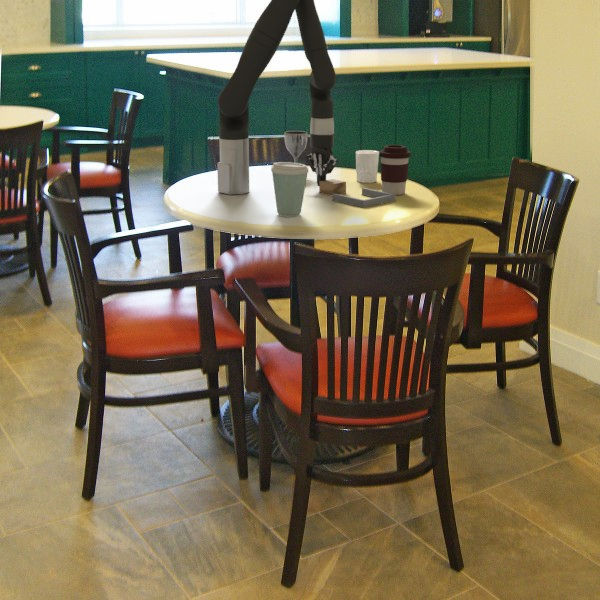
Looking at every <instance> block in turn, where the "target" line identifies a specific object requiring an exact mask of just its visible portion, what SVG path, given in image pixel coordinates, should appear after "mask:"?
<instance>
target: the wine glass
mask: <svg viewBox="0 0 600 600" xmlns="http://www.w3.org/2000/svg"><path fill="white" fill-rule="evenodd" d="M307 142H308V132H307V131H305V130H288V131H287V130H286V131H284V144H285V147H286V149H287V151H288V152H289V153H290V155H291V156H292V158H293V163H298V160H299V159H300V156H301V155H302V153H303V152H304V151H305V150H306V147H307V144H308V143H307Z"/></svg>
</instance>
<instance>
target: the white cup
mask: <svg viewBox="0 0 600 600" xmlns="http://www.w3.org/2000/svg"><path fill="white" fill-rule="evenodd" d="M379 158H380V156H379V151H378V150H374V149H373V150H372V149H361V150H360V149H359V150H356V151H355V173H356V181H357V182H358V183H362V184H364V183H365V184H370V183H372V184H373V183H376V182H377V179H378V173H379V172H378V170H379V160H380V159H379Z"/></svg>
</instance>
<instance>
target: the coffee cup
mask: <svg viewBox="0 0 600 600" xmlns="http://www.w3.org/2000/svg"><path fill="white" fill-rule="evenodd" d="M378 152H379V158H380V162H379V163H380V180H381V191H382V192H386V193H391V194H396V196H403V195H404V194H406V187H407V181H408V173H409V165H410V164H409V159H410V158H411V155H412V153H411V151H410V150H408V149H407V146H406V145H401V144H389V145H384V147H383V149H381V150H379V151H378Z"/></svg>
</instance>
